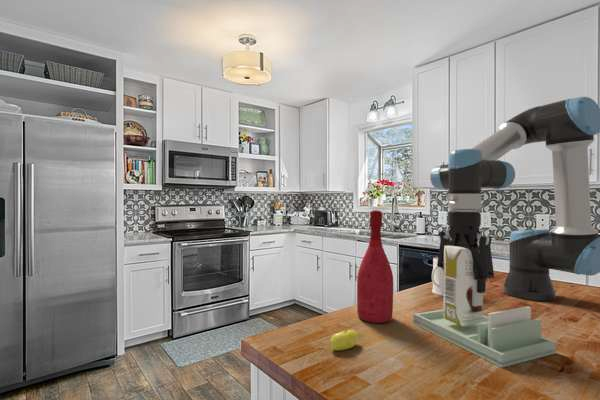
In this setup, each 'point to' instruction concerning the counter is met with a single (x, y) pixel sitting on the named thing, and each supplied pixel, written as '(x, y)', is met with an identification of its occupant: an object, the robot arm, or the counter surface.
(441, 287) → the mug
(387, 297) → the wine bottle
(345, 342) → the lemon
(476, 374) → the counter surface
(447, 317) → the juice carton
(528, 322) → the dish rack
